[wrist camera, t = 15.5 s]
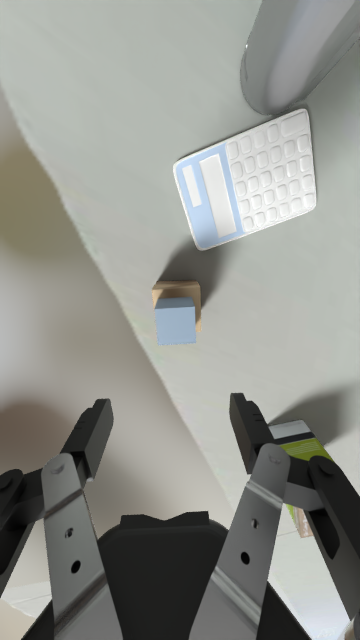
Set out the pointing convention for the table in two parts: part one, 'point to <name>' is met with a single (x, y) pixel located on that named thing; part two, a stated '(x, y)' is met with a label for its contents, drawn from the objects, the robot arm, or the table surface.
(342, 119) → the table surface
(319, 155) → the table surface
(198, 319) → the top block
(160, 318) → the blue cube
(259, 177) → the calculator
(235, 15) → the table surface
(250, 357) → the table surface
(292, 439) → the tea box
